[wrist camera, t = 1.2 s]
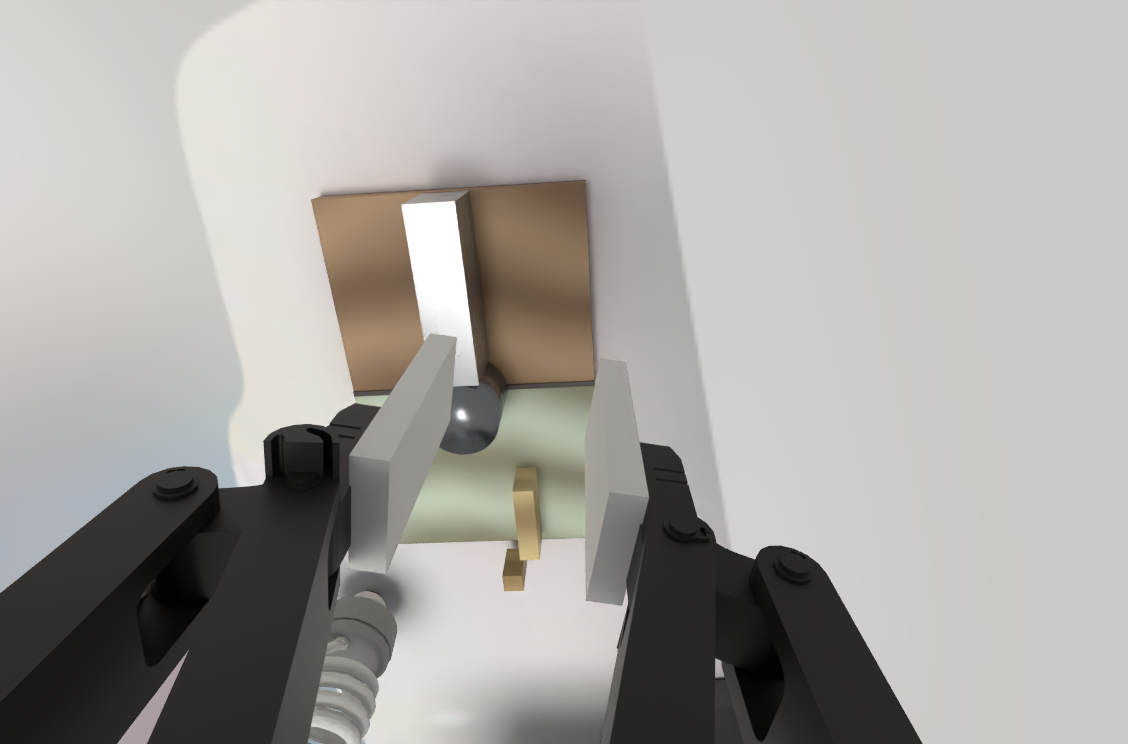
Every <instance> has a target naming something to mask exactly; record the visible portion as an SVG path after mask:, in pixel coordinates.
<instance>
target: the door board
mask: <svg viewBox="0 0 1128 744" xmlns="http://www.w3.org/2000/svg"><path fill="white" fill-rule="evenodd" d="M457 191H469V194H470V203H471V211H472V219H473V228H474V236H475V244H476V252H477V261H478V269H479V277H480V285H481V294H482V302H483V310H484V319H485V327H486V335H487V343H488V352H489V359H488V362H489V363H491V364H492V365H493V366H495V367H496V368H497V369H498V370H499V371H500V372H501V374H502V375H503V377H504V379H505V381H506V385H507V398H506V402H505V406H504V410H503V413H502V417H501V421H500V425H499V429H498V433H497V435H496V437H495V439H494V441H493V442H492V443H491V444H490V445H489V446H488V447H487V448H485V449H484V450H482V451H480V452H477V453H473V454H467V455H460V454H454V453H450V452H447V451H445V450H443V449H441V448H438V451H437V453H436V455H435V458H434V460H433V462H432V465H431V467H430V470H429V472H428V474H427V477H426V479H425V482H424V484H423V486H422V489H421V491H420V493H419V496H418V498H417V501H416V503H415V505H414V508H413V510H412V513H411V515H410V517H409V520H408V522H407V525H406V527H405V529H404V532H403V534H402V536H401V539H400V541H399V544H411V543H442V542H473V541H504V540H518V547H519V549H507V552H506V558H505V564H504V570H503V584H504V591H524V583H525V574H526V566H527V560H540V551H541V540H542V539H566V538H585V434H586V429H587V424H588V418H589V413H590V408H591V402H592V397H593V392H594V365H593V343H592V321H591V299H590V277H589V255H588V233H587V211H586V189H585V180H581V181H565V182H549V183H532V184H516V185H500V186H484V187H467V188H451V189H435V190H418V191H402V192H386V193H369V194H353V195H337V196H321V197H317V198H315V199H312V200H311V202H312V207H313V211H314V216H315V220H316V224H317V229H318V233H319V238H320V242H321V247H322V251H323V256H324V260H325V265H326V269H327V274H328V278H329V282H330V287H331V291H332V296H333V300H334V305H335V309H336V314H337V318H338V323H339V327H340V332H341V336H342V341H343V345H344V349H345V354H346V358H347V363H348V367H349V372H350V376H351V381H352V385H353V390H354V392H353V393H354V397H355V399H356V403H357V404H364V405H371V406H378V407H382V405H383V404H384V402H385V401H386V399H387V398H388V396H389V395H390V393H391V392H392V390H393V389H394V387H395V386H396V384H397V383H398V381H399V380H400V378H401V377H402V375H403V374H404V372H405V371H406V369H407V368H408V366H409V365H410V363H411V362H412V360H413V359H414V357H415V356H416V354H417V353H418V351H419V350H420V348H421V347H422V345H423V344H424V338H423V332H422V326H421V320H420V314H419V308H418V302H417V296H416V290H415V284H414V278H413V272H412V266H411V260H410V253H409V247H408V241H407V235H406V229H405V223H404V217H403V211H402V204H403V203H405V202H407V201H409V200H411V199H413V198H415V197H416V196H418V195H420V194H424V193H440V192H457Z"/></svg>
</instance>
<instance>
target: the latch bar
mask: <svg viewBox="0 0 1128 744" xmlns="http://www.w3.org/2000/svg"><path fill="white" fill-rule="evenodd" d="M402 211H403V217H404V223H405V229H406V235H407V241H408V247H409V253H410V260H411V266H412V272H413V278H414V284H415V290H416V296H417V302H418V308H419V314H420V320H421V326H422V332H423V338H424V342H425V341H426V339H427V338H428V336H429V335H430V333H432V334H439V335H445V336H452V337H457V342H456V354H455V367H454V379H453V391H452V404H451V416H450V422H449V424H448V427H447V429H446V431H445V434H444V436H443V439H442V441H441V443H440V446H439V448H441V449H443V450H445V451H447V452H450V453H454V454H460V455H467V454H473V453H477V452H480V451H482V450H484V449H485V448H487V447H488V446H489V445H490V444H491V443H492V442H493V441H494V439H495V437H496V435H497V433H498V429H499V425H500V421H501V417H502V413H503V410H504V406H505V402H506V398H507V385H506V381H505V379H504V377H503V375H502V374H501V372H500V371H499V370H498V369H497V368H496V367H495V366H493V365H492V364H491V363H489V362H488V359H489V352H488V343H487V335H486V327H485V319H484V310H483V302H482V294H481V285H480V277H479V269H478V261H477V252H476V244H475V236H474V228H473V219H472V211H471V203H470V194H469V191H457V192H440V193H424V194H420V195H418V196H416V197H415V198H413V199H411V200H409V201H407V202H405V203H403V204H402Z"/></svg>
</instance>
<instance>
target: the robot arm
mask: <svg viewBox="0 0 1128 744" xmlns="http://www.w3.org/2000/svg"><path fill="white" fill-rule="evenodd" d="M456 342H457V337H452V336H445V335H439V334H432V333H430V335H429V336H428V338H427V339H426V341H425V342H424V344H423V345H422V347H421V348H420V350H419V351H418V353H417V354H416V356H415V357H414V359H413V360H412V362H411V363H410V365H409V366H408V368H407V369H406V371H405V372H404V374H403V375H402V377H401V378H400V380H399V381H398V383H397V384H396V386H395V387H394V389H393V390H392V392H391V393H390V395H389V396H388V398H387V399H386V401H385V402H384V404H383V405H382V407H378V406H371V405H364V404H357V403H355V404H353V405H351V406H349V407H347V408H345V409H343V410H341V411H340V412H338V414H337V415H336V416H335V417H334V419H333V420H332V421H331V422H330V425H328V426H327V427H324V426H319V425H312V424H302V425H292V426H288V427H284V428H280V429H278V430H276V431H274V432H272V433H271V434H269V435H268V436H267V437H266V439H265V440H264V441H263V442H264V458H265V474H266V479H265V481H264V483H263V484H262V485H257V486H249V487H236V488H221V489H218V480H217V476H216V475H215V474H214V473H212V472H211V471H210V470H207V469H203V468H200V467H186V466H183V467H176V468H175V467H174V468H169V469H165V470H162V471H159V472H157V473H153V474H151V475H149V476H148V477H146V478H144V479H143V480H141V481H139V482H138V483H137V484H136V485H134V486H133V487H132V488H131V489H129V490H128V491H127V492H126V493H124V494H123V495H122V496H121V497H119V498H118V499H117V500H116V501H114V502H113V503H112V504H111V505H109V506H108V507H107V508H106V509H104V510H103V511H102V512H101V513H100V514H98V515H97V516H96V517H95V518H93V519H92V520H91V521H90V522H88V523H87V524H86V525H85V526H83V527H82V528H81V529H80V530H78V531H77V532H76V533H75V534H73V535H72V536H71V537H70V538H68V539H67V540H66V541H65V542H64V543H62V544H61V545H60V546H59V547H57V548H56V549H55V550H53V551H52V552H51V553H50V554H49V555H47V556H46V557H45V558H44V559H42V560H41V561H40V562H39V563H37V564H36V565H35V566H34V567H32V568H31V569H30V570H29V571H27V572H26V573H25V574H24V575H23V576H21V577H20V578H19V579H17V580H16V581H15V582H14V583H13V584H11V585H10V586H9V587H7V588H6V589H5V590H4V591H3V592H1V593H0V744H117V743H118V742H119V740H120V739H121V738H122V736H123V735H124V734H125V732H126V731H127V730H128V728H129V727H130V726H131V724H132V723H133V722H134V721H135V719H136V718H137V716H138V715H139V714H140V713H141V711H142V710H143V709H144V708H145V706H146V705H147V703H148V702H149V701H150V700H151V698H152V697H153V696H154V694H155V693H156V692H157V691H158V689H159V688H160V687H161V685H162V684H163V683H164V681H165V680H166V679H167V677H168V676H169V675H170V673H171V672H172V671H173V669H174V668H175V667H176V666H177V664H178V663H179V662H180V660H181V659H182V658H183V656H184V655H185V654H186V653H187V651H188V650H189V651H188V653H187V656H186V658H185V660H184V663H183V665H182V667H181V669H180V671H179V674H178V676H177V678H176V680H175V682H174V685H173V687H172V689H171V691H170V694H169V696H168V698H167V701H166V703H165V705H164V707H163V710H162V712H161V714H160V716H159V718H158V720H157V723H156V725H155V727H154V729H153V732H152V734H151V736H150V739H149V741H148V743H147V744H307V743H308V738H309V733H310V728H311V723H312V718H313V713H314V709H315V704H316V699H317V694H318V689H319V684H320V679H321V674H322V669H323V664H324V660H325V655H326V650H327V645H328V640H329V635H330V630H331V625H332V620H333V615H334V611H335V606H336V601H337V596H338V591H339V586H340V564H341V562H342V560H343V559H344V557H345V555H346V553H347V551H348V549H349V569H353V570H360V571H368V572H375V573H383V574H386V572H387V570H388V567H389V565H390V563H391V560H392V558H393V556H394V553H395V551H396V548H397V546H398V544H399V541H400V539H401V536H402V534H403V532H404V529H405V527H406V525H407V522H408V520H409V517H410V515H411V513H412V510H413V508H414V505H415V503H416V501H417V498H418V496H419V493H420V491H421V489H422V486H423V484H424V482H425V479H426V477H427V474H428V472H429V470H430V467H431V465H432V462H433V460H434V458H435V455H436V453H437V451H438V448H439V446H440V443H441V441H442V439H443V436H444V434H445V431H446V429H447V427H448V424H449V422H450V416H451V404H452V391H453V379H454V367H455V354H456ZM684 473H685V472H684V468H683V465H682V461H681V459H680V458H679V456H678V455H677V454H676V453H675V452H674V451H673V450H672V449H671V448H670V447H667V446H660V445H653V444H646V443H640V442H639V436H638V431H637V425H636V419H635V413H634V408H633V402H632V396H631V390H630V384H629V379H628V373H627V367H626V362H621V361H614V360H608V359H601V358H600V360H599V365H598V370H597V376H596V381H595V386H594V392H593V397H592V402H591V408H590V413H589V418H588V424H587V429H586V434H585V549H586V601H593V602H600V603H608V604H615V605H622V604H623V600H624V596H625V592H626V588H627V593H628V606H627V610H626V614H625V618H624V622H623V626H622V630H621V634H620V638H619V642H618V646H617V648H618V654H617V659H616V664H615V669H614V674H613V679H612V685H611V690H610V695H609V700H608V705H607V711H606V716H605V721H604V726H603V731H602V736H601V742H600V744H922V742H921V740H920V738H919V737H918V735H917V733H916V731H915V730H914V728H913V726H912V724H911V723H910V721H909V719H908V717H907V715H906V714H905V712H904V710H903V708H902V707H901V705H900V703H899V701H898V699H897V698H896V696H895V694H894V692H893V691H892V689H891V687H890V685H889V684H888V682H887V680H886V678H885V676H884V675H883V673H882V671H881V669H880V668H879V666H878V664H877V662H876V660H875V659H874V657H873V655H872V653H871V652H870V650H869V648H868V646H867V645H866V643H865V641H864V639H863V638H862V636H861V634H860V632H859V630H858V628H857V627H856V625H855V623H854V621H853V620H852V618H851V616H850V614H849V612H848V611H847V609H846V607H845V605H844V604H843V602H842V600H841V598H840V596H839V595H838V593H837V591H836V589H835V588H834V586H833V584H832V582H831V580H830V579H829V577H828V575H827V573H826V572H825V571H824V570H823V568H822V567H821V566H820V565H819V564H818V563H817V562H816V561H814V560H813V559H812V558H810V557H809V556H808V555H805V554H804V553H802V552H799V551H797V550H795V549H792V548H788V547H784V546H768V547H765V548H763V549H761V550H760V551H759V553H758V555H757V557H756V559H752V558H749V557H746V556H743V555H740V554H738V553H735V552H733V551H730V550H728V549H726V548H724V547H722V546H720V545H719V544H717V543H716V539H715V535H714V532H713V530H712V529H711V528H710V527H709V526H708V524H707V523H705V522H704V521H702V520H701V519H699V518H698V517H697V514H696V511H695V507H694V503H693V500H692V496H691V493H690V489H689V486H688V485H687V483H688V482H687V479H686V475H685V474H684ZM715 658H716V659H719V660H721V661H722V669H723V672H724V676H725V679H726V680H715Z"/></svg>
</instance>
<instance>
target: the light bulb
mask: <svg viewBox="0 0 1128 744" xmlns="http://www.w3.org/2000/svg"><path fill="white" fill-rule="evenodd" d="M396 634H397V625H396V622H395V619H394V616H393V615H392V614H391V612H390V611H389V610H388V608H387V607H386V604H385V602H384V600H383V599H382V597H380V596H379V595H378V594H376V593H373V592H369V591H365V592H360V593H358V594H355V595H354V596H348V597H344V598H341V599H338V600H337V601H336V606H335V611H334V615H333V620H332V625H331V630H330V635H329V640H328V645H327V650H326V655H325V660H324V664H323V669H322V674H321V679H320V684H319V687H322V686H323V687H333V688H338V689H341V690H342V693H343V694H342V693H337V692H333V691H328V690H318V694H317V699H316V704H315V709H314V713H313V718H312V723H311V728H310V733H309V739H311V740H313V741H316V742H319V743H323V744H361V739H362V738H363V737H364V736H365V735H366V733H367V731H368V729H369V726H370V720H369V719H370V718H371V717H372V715H373V713H374V711H375V707H376V704H375V698H376V696H377V693H378V688H379V685H378V681H377V678H378V677H380V676H381V675H382V674H383V672H384V671H385V670H386V667H387V665H388V662H389V661H390V660H391V656H392V652H393V647H394V643H395V639H396ZM365 684H366V685H365ZM327 707H329V708H333V709H337V710H340V711H342V712H338V711H334V710H331V709H329V708H327ZM343 712H344V713H343ZM355 726H356V727H355ZM307 744H310V743H307Z"/></svg>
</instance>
